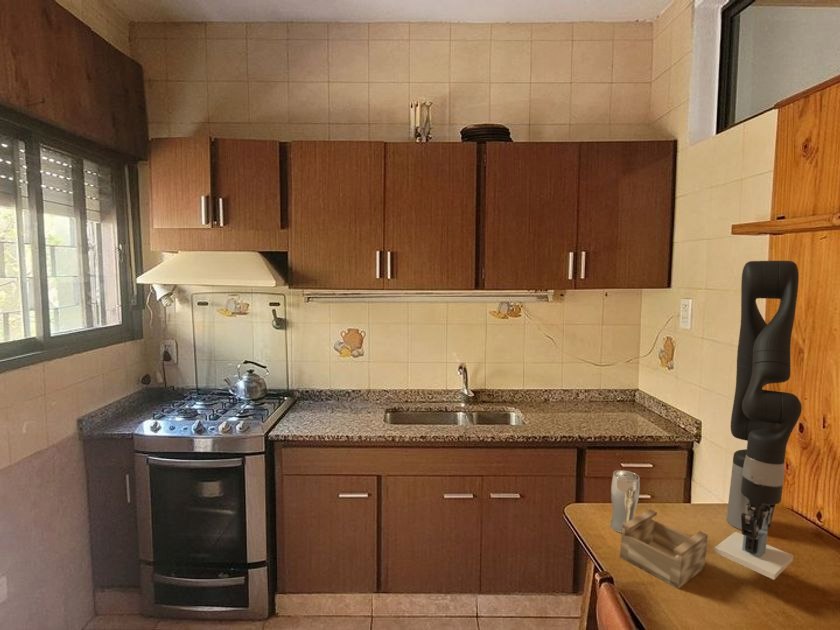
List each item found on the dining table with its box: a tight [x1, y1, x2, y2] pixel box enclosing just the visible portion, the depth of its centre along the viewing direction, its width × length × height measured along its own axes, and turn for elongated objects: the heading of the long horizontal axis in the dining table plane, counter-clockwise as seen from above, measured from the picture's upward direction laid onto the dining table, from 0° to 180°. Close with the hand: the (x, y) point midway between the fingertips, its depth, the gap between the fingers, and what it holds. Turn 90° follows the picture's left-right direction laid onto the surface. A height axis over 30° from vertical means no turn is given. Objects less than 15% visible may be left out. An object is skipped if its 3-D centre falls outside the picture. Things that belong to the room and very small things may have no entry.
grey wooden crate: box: [619, 509, 709, 589], centre depth 116 cm, size 13×14×8 cm
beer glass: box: [609, 469, 641, 534], centre depth 131 cm, size 7×7×15 cm
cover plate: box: [713, 530, 794, 581], centre depth 111 cm, size 12×12×6 cm
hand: (754, 548), depth 111 cm, fingers closed on cover plate, 3 cm apart
